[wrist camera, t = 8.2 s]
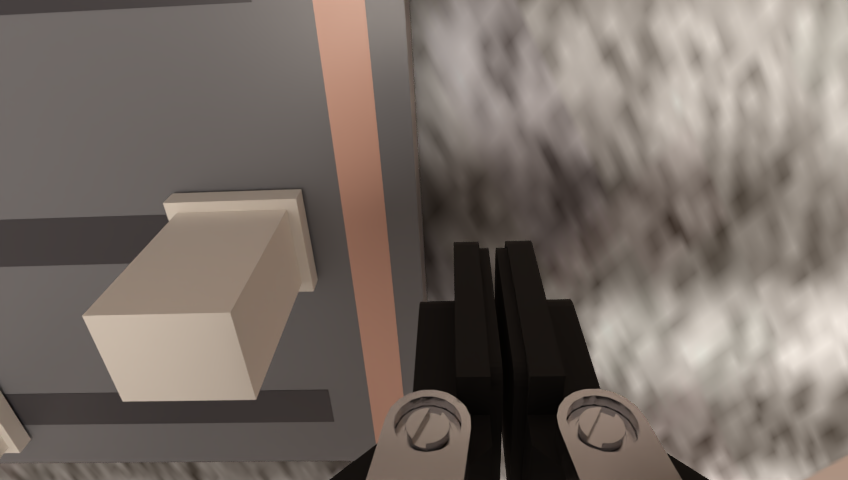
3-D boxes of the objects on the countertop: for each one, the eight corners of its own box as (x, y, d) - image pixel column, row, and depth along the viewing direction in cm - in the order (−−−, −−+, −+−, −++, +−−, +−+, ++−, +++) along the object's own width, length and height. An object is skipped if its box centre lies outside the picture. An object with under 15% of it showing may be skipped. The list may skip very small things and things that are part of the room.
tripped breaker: (318, 279, 16) (272, 409, 12) (201, 282, 16) (114, 411, 12) (301, 189, 15) (241, 299, 10) (172, 193, 15) (61, 304, 10)
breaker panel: (434, 418, 22) (433, 460, 20) (-73, 424, 23) (-115, 464, 21) (397, -203, 12) (389, -224, 10) (-500, -139, 13) (-645, -149, 11)
